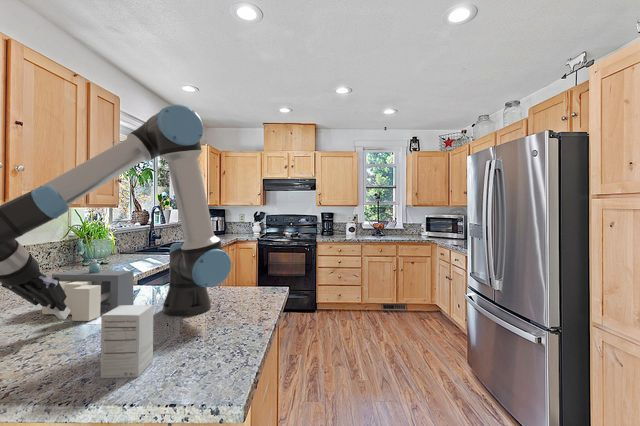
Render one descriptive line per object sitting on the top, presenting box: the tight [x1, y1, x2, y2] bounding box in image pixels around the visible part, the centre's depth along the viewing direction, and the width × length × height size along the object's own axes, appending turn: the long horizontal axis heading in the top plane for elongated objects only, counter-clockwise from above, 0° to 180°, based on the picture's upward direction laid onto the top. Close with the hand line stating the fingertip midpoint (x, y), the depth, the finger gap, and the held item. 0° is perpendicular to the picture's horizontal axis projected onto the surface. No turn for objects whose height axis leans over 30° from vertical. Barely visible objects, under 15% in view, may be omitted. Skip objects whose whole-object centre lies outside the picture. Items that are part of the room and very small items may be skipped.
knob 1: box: [41, 281, 71, 315], centre depth 109 cm, size 5×13×10 cm, turn 0°
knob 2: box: [71, 285, 110, 322], centre depth 103 cm, size 5×13×10 cm, turn 0°
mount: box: [51, 269, 135, 315], centre depth 110 cm, size 22×14×12 cm, turn 90°
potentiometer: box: [88, 259, 101, 273], centre depth 112 cm, size 3×3×4 cm
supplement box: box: [100, 304, 154, 379], centre depth 68 cm, size 7×7×13 cm
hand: (65, 314), depth 91 cm, fingers closed
